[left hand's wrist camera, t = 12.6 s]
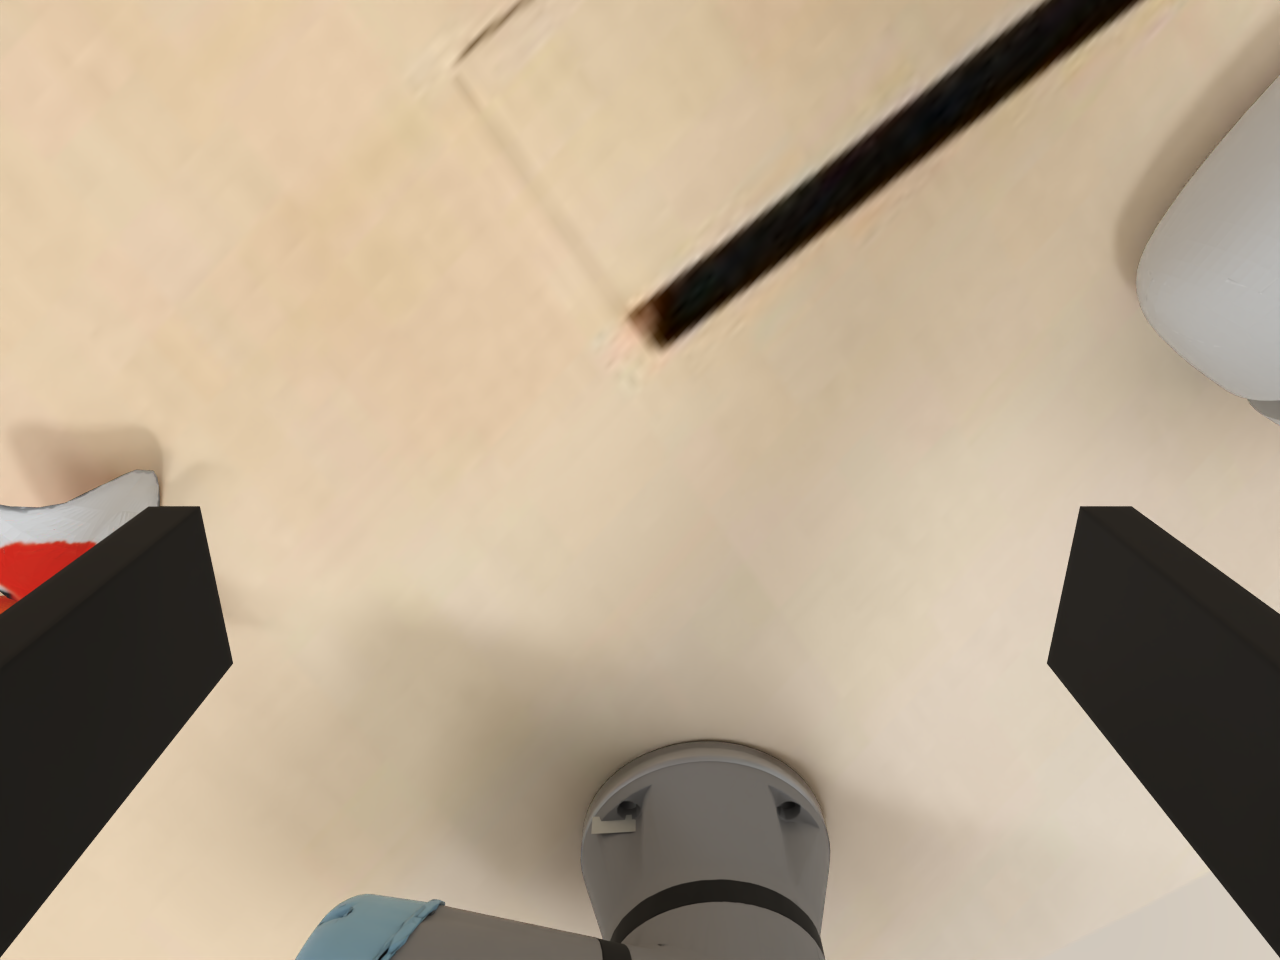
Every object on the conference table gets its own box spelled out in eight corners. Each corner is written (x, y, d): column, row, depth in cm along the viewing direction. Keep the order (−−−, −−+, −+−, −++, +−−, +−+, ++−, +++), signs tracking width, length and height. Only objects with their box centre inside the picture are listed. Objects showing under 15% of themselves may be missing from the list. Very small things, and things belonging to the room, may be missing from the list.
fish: (-200, 571, 41) (-260, 690, 33) (92, 383, 44) (98, 452, 36) (-10, 689, 47) (-24, 812, 40) (230, 518, 51) (260, 601, 43)
